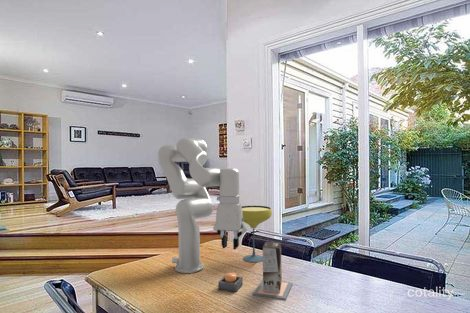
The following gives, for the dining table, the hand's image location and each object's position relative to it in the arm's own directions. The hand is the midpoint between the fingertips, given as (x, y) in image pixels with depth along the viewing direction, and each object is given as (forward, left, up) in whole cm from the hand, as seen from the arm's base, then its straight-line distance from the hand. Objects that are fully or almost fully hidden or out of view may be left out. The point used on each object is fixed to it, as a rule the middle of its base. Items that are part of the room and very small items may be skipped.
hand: (230, 247), depth 115 cm
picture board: (+16, +3, -15) cm, 22 cm away
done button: (0, 0, -13) cm, 13 cm away
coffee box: (+16, +3, -15) cm, 22 cm away
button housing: (0, 0, -15) cm, 15 cm away
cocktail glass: (-1, +35, -15) cm, 38 cm away
